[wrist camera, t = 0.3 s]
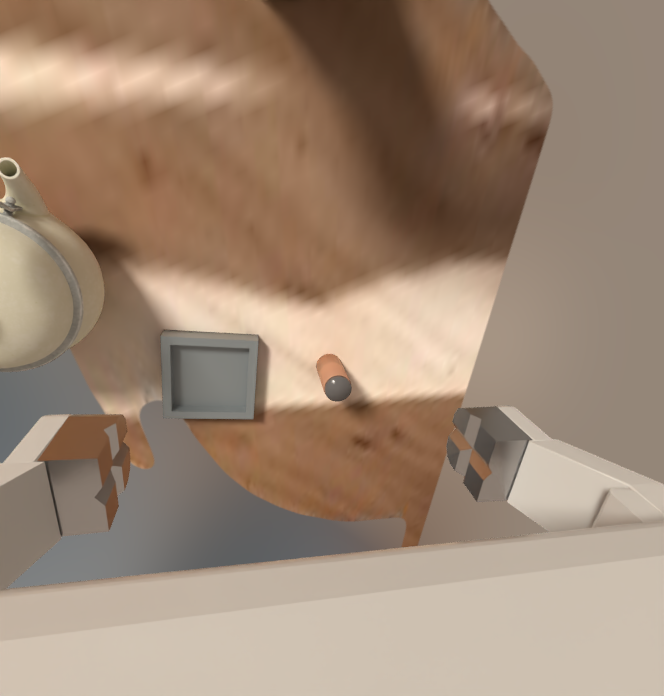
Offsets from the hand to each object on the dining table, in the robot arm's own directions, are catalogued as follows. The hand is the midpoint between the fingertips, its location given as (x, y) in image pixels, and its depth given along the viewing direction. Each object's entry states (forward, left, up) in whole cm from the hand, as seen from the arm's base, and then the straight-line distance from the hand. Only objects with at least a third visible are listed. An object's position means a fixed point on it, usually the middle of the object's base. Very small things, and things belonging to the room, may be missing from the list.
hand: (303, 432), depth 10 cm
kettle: (+8, -27, -48) cm, 56 cm away
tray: (+23, -6, -48) cm, 54 cm away
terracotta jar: (+21, +12, -48) cm, 54 cm away
